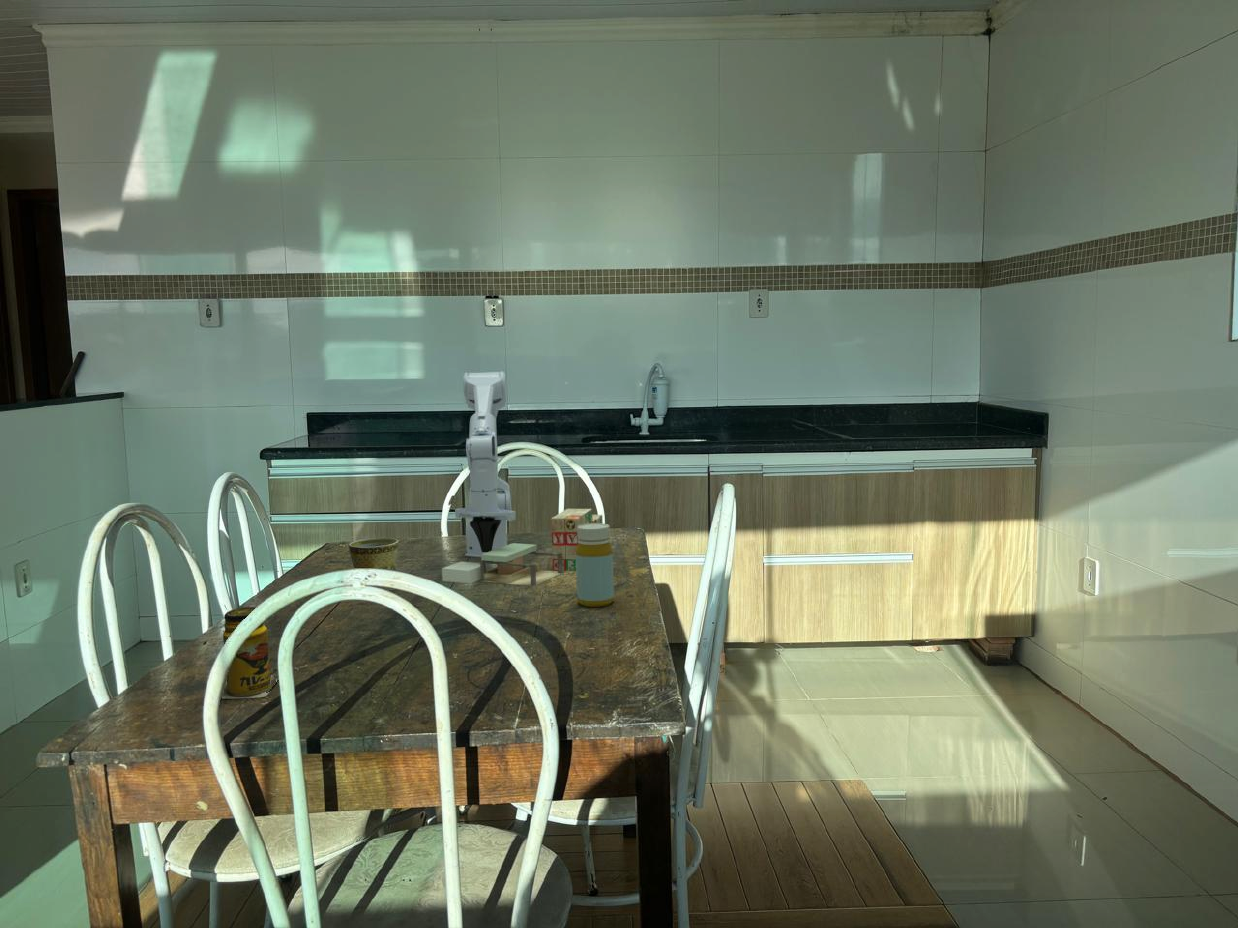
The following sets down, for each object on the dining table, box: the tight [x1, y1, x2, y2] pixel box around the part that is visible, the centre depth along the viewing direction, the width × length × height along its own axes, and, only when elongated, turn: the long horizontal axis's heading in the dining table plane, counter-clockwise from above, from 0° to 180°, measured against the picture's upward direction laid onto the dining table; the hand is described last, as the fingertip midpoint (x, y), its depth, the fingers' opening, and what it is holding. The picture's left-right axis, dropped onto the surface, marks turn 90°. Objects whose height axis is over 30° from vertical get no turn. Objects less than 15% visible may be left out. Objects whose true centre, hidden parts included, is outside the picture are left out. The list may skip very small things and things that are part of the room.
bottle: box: [576, 523, 615, 608], centre depth 181 cm, size 7×7×15 cm
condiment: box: [221, 606, 278, 700], centre depth 138 cm, size 7×8×12 cm
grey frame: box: [479, 551, 565, 587], centre depth 204 cm, size 13×13×5 cm
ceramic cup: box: [348, 537, 399, 571], centre depth 198 cm, size 13×10×10 cm
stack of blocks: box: [550, 508, 604, 572], centre depth 218 cm, size 21×6×12 cm, turn 166°
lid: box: [480, 542, 538, 562], centre depth 205 cm, size 6×13×1 cm, turn 154°
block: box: [496, 555, 524, 575], centre depth 205 cm, size 4×4×4 cm
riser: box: [441, 561, 489, 584], centre depth 204 cm, size 7×7×3 cm
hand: (486, 551), depth 207 cm, fingers closed
